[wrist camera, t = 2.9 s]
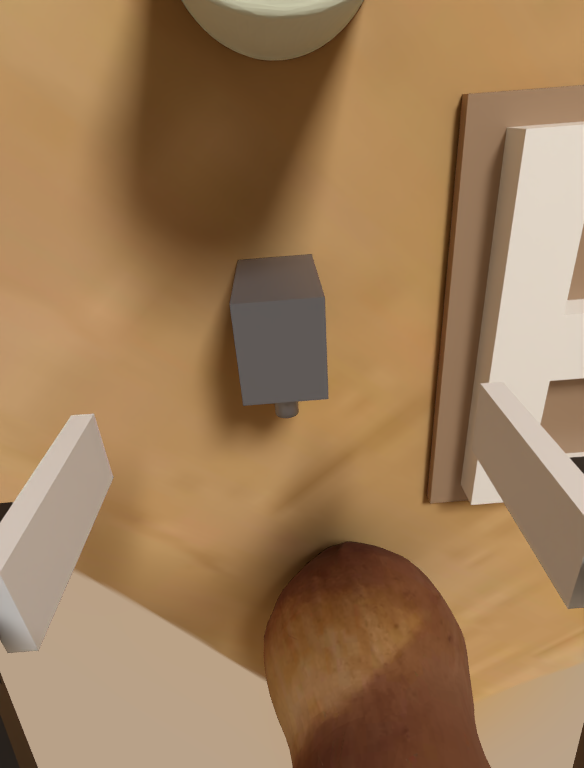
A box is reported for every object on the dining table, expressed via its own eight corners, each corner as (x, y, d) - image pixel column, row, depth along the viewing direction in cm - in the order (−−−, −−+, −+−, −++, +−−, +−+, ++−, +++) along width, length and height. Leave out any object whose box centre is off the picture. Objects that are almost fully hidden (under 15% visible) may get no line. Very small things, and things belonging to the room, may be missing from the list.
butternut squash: (231, 559, 38) (182, 1171, 16) (382, 478, 35) (580, 1107, 13) (327, 647, 44) (387, 1182, 22) (464, 585, 41) (695, 1140, 19)
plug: (251, 370, 30) (247, 437, 24) (238, 259, 27) (229, 304, 21) (316, 365, 30) (329, 430, 24) (311, 253, 27) (324, 296, 21)
